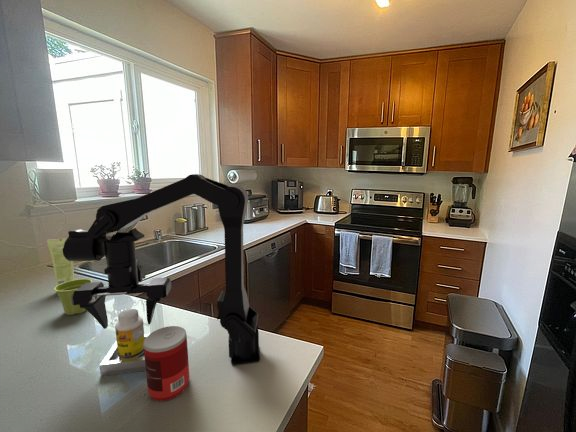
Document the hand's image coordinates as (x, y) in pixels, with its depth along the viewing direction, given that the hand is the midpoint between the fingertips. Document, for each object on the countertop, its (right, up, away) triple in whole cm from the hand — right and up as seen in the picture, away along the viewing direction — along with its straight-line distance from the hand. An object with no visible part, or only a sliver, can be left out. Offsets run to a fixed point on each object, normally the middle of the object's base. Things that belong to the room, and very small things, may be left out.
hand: (128, 325), depth 64 cm
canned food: (+13, -10, -7) cm, 18 cm away
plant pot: (-30, -5, +24) cm, 38 cm away
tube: (-45, -2, +39) cm, 60 cm away
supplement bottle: (0, -7, +1) cm, 7 cm away
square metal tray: (+1, -8, +1) cm, 8 cm away
